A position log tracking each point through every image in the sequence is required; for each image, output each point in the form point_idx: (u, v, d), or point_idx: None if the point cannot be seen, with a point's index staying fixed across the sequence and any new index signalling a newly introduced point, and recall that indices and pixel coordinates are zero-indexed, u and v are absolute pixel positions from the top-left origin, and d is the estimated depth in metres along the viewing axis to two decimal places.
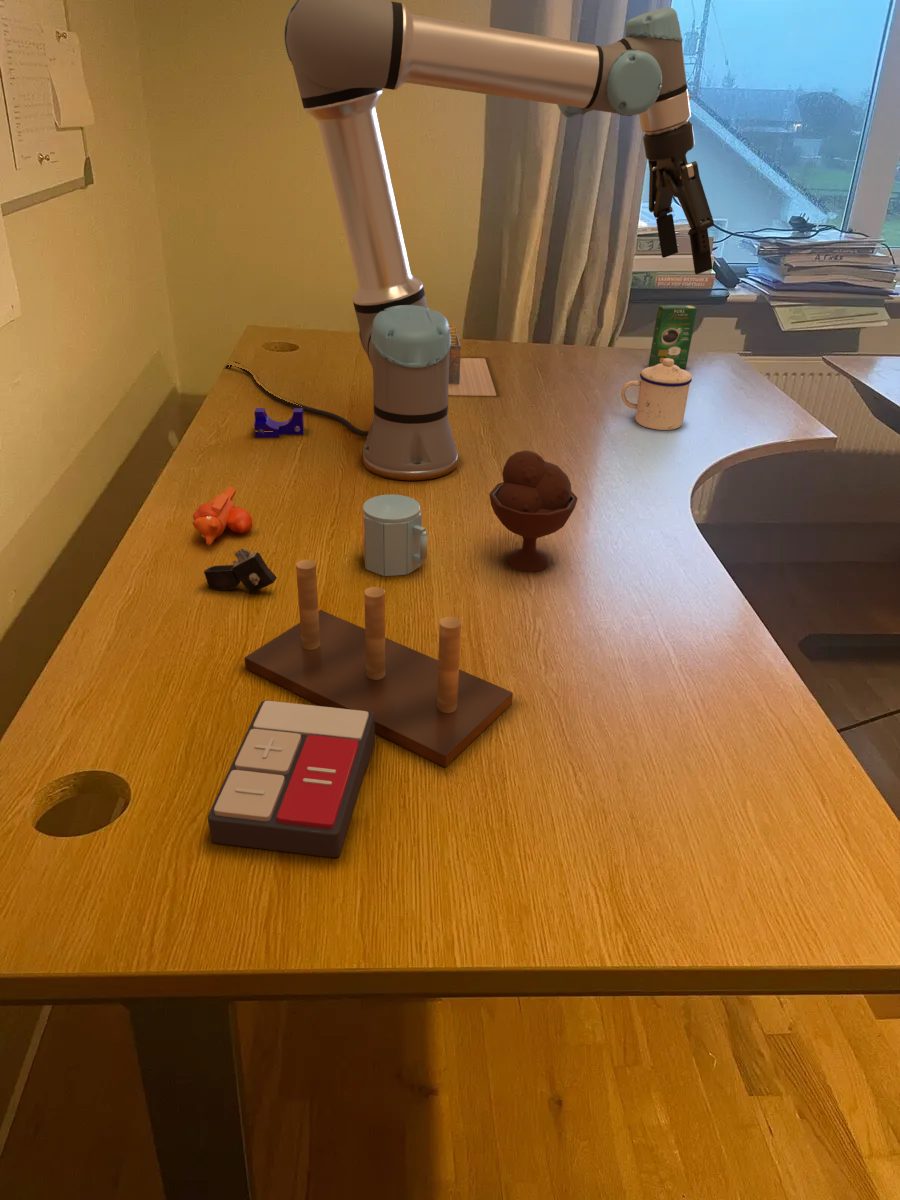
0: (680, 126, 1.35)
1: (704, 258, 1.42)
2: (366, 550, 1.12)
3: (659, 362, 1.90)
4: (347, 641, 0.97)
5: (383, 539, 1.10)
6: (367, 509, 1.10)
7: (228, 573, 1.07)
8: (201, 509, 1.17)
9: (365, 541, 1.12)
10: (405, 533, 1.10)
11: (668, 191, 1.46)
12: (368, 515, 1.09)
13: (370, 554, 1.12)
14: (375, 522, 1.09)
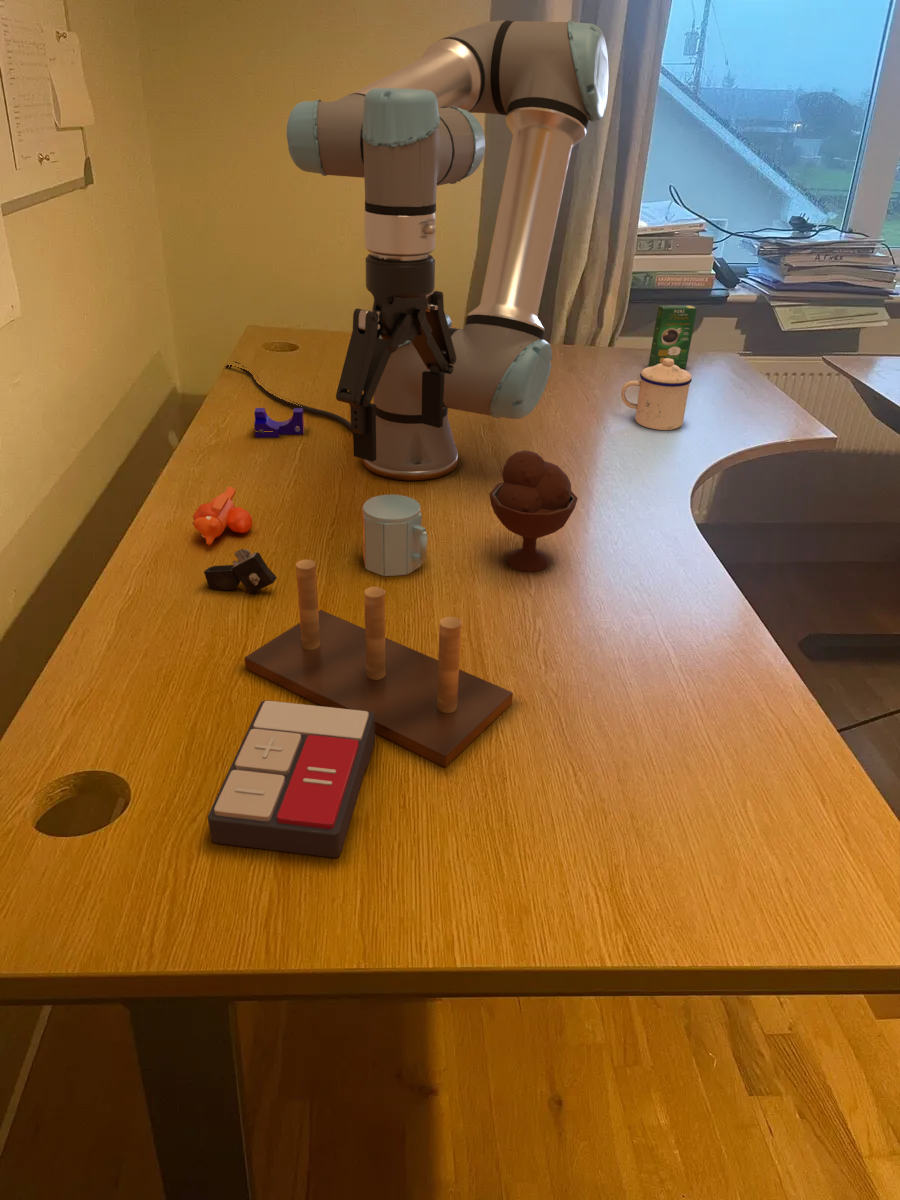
0: (391, 259, 0.93)
1: (364, 443, 1.00)
2: (366, 550, 1.12)
3: (659, 362, 1.90)
4: (347, 641, 0.97)
5: (383, 539, 1.10)
6: (367, 509, 1.10)
7: (228, 573, 1.07)
8: (201, 509, 1.17)
9: (365, 541, 1.12)
10: (405, 533, 1.10)
11: (420, 342, 1.03)
12: (368, 515, 1.09)
13: (370, 554, 1.12)
14: (375, 522, 1.09)
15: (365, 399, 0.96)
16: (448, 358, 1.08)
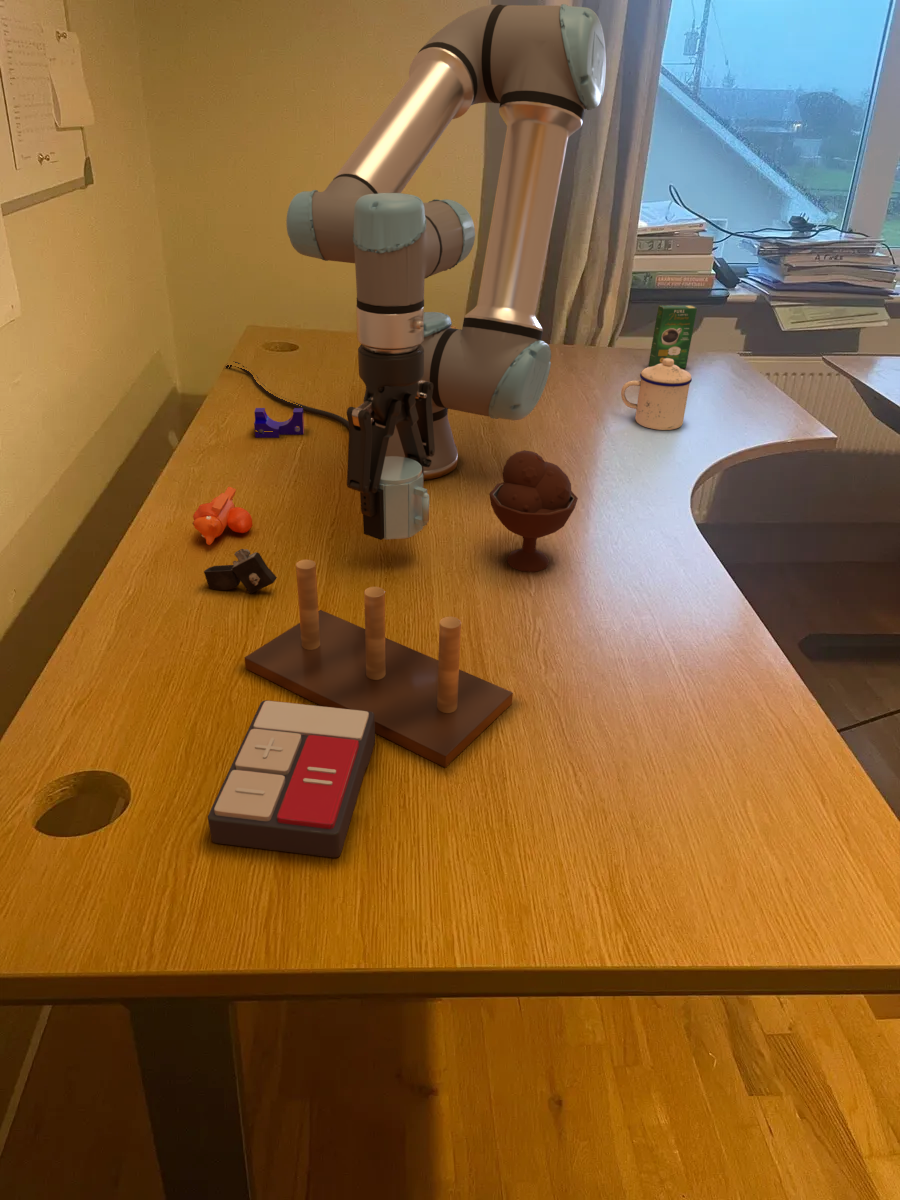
0: (381, 352, 0.98)
1: (373, 523, 1.09)
2: None
3: (659, 362, 1.90)
4: (347, 641, 0.97)
5: (384, 501, 1.07)
6: None
7: (228, 573, 1.07)
8: (201, 509, 1.17)
9: None
10: (406, 495, 1.07)
11: (405, 428, 1.08)
12: None
13: None
14: None
15: (373, 488, 1.05)
16: (426, 451, 1.12)
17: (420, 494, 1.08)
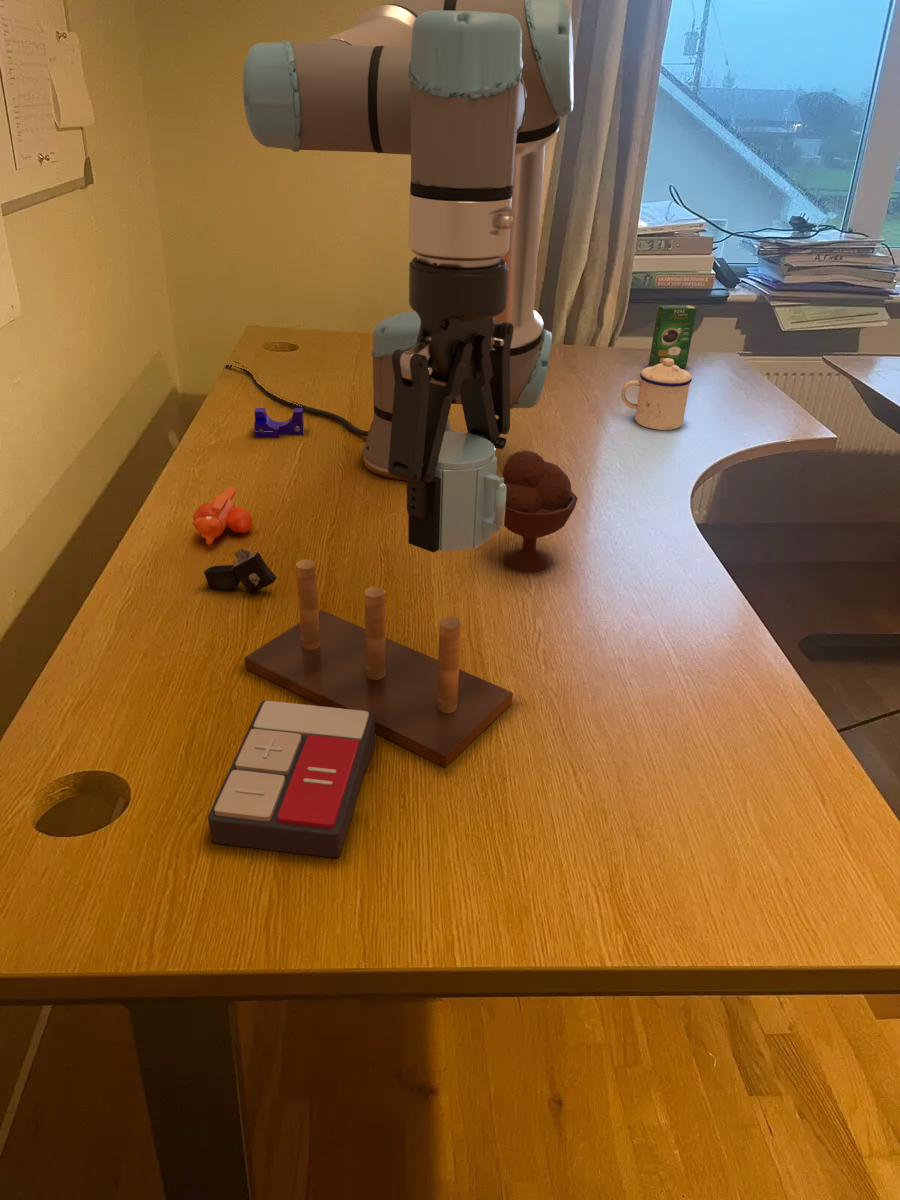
0: (447, 265, 0.64)
1: (423, 528, 0.74)
2: None
3: (659, 362, 1.90)
4: (347, 641, 0.97)
5: (441, 494, 0.73)
6: None
7: (228, 573, 1.07)
8: (201, 509, 1.17)
9: None
10: (474, 485, 0.73)
11: (472, 390, 0.74)
12: None
13: None
14: None
15: (427, 475, 0.71)
16: (499, 426, 0.78)
17: (494, 485, 0.73)
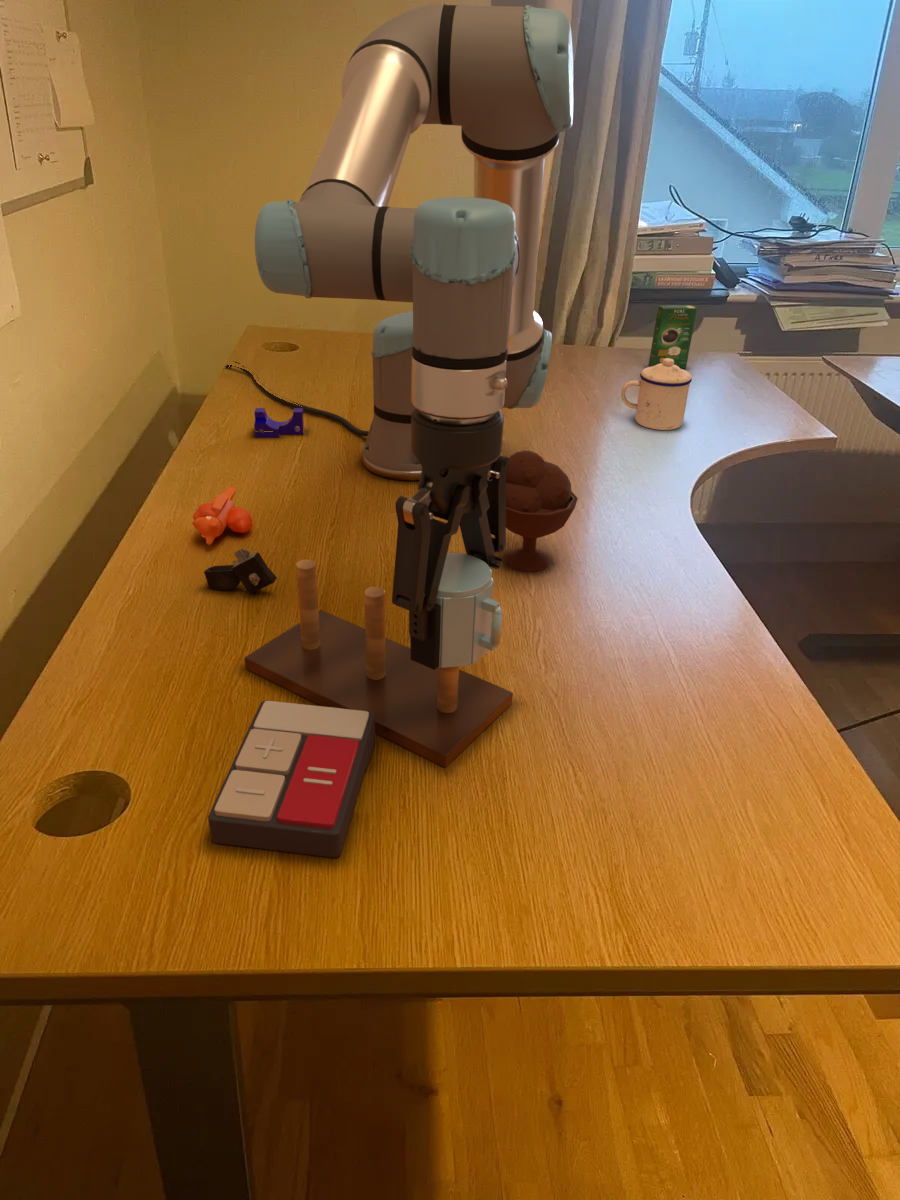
0: (446, 422, 0.69)
1: (425, 647, 0.80)
2: None
3: (659, 362, 1.90)
4: (347, 641, 0.97)
5: (441, 619, 0.78)
6: None
7: (228, 573, 1.07)
8: (201, 509, 1.17)
9: None
10: (472, 610, 0.78)
11: (470, 519, 0.79)
12: None
13: None
14: None
15: (428, 604, 0.76)
16: (495, 547, 0.83)
17: (490, 609, 0.78)
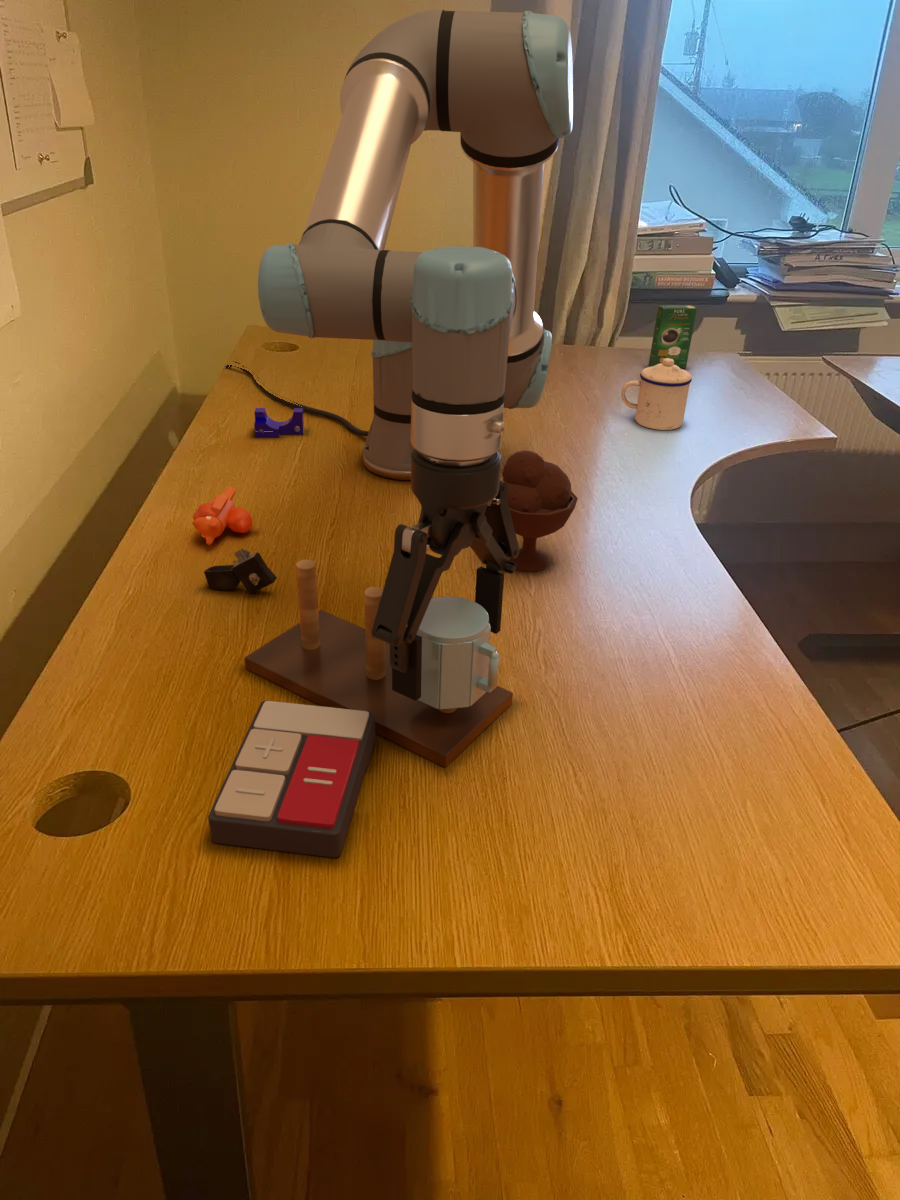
0: (445, 463, 0.71)
1: (406, 679, 0.79)
2: None
3: (659, 362, 1.90)
4: (347, 641, 0.97)
5: (440, 663, 0.81)
6: None
7: (228, 573, 1.07)
8: (201, 509, 1.17)
9: None
10: (470, 655, 0.81)
11: (476, 542, 0.82)
12: (419, 631, 0.80)
13: None
14: (429, 641, 0.80)
15: (409, 635, 0.75)
16: (509, 552, 0.86)
17: (487, 654, 0.81)
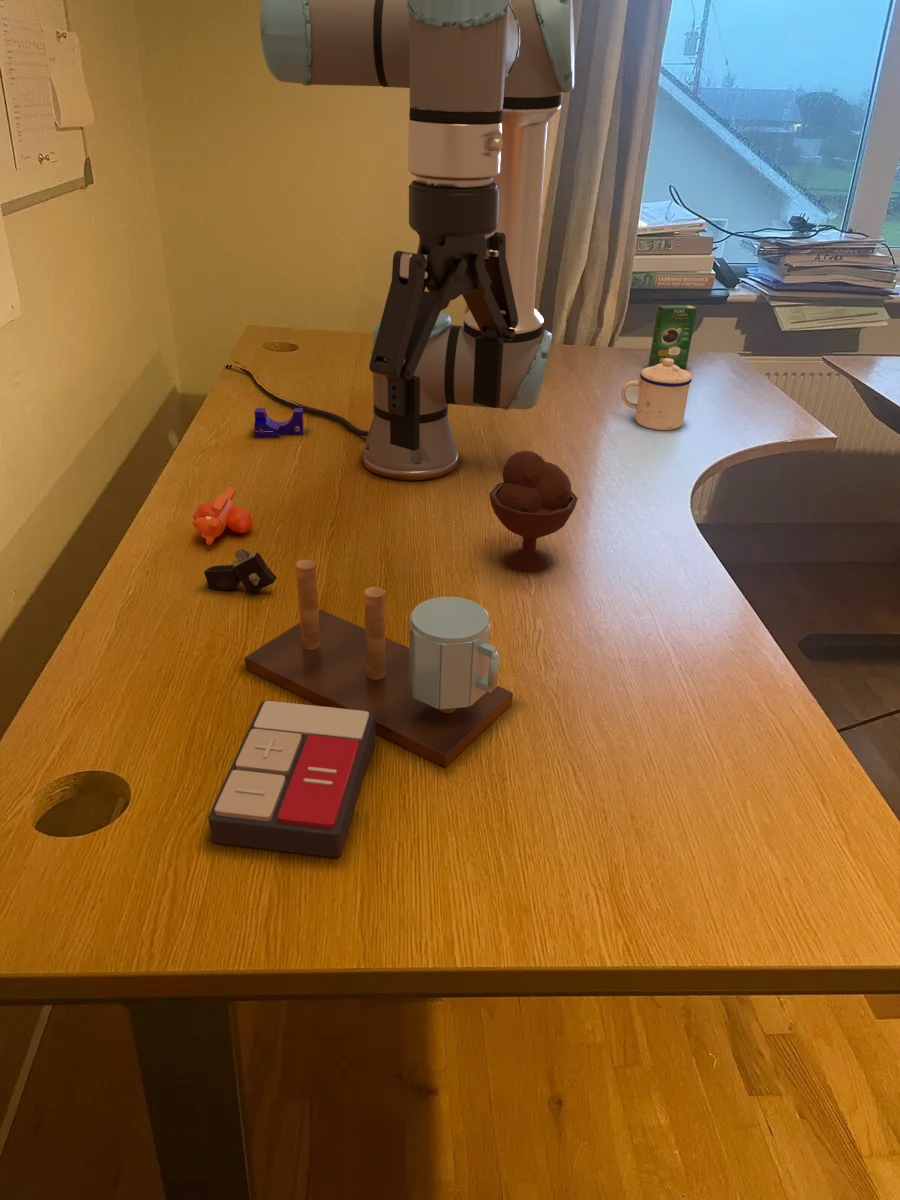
0: (443, 185, 0.71)
1: (404, 427, 0.78)
2: (415, 674, 0.83)
3: (659, 362, 1.90)
4: (347, 641, 0.97)
5: (440, 663, 0.81)
6: (417, 621, 0.81)
7: (228, 573, 1.07)
8: (201, 509, 1.17)
9: (414, 663, 0.83)
10: (470, 655, 0.81)
11: (475, 298, 0.81)
12: (419, 631, 0.80)
13: (420, 680, 0.83)
14: (429, 641, 0.80)
15: (407, 370, 0.74)
16: (508, 320, 0.86)
17: (487, 654, 0.81)
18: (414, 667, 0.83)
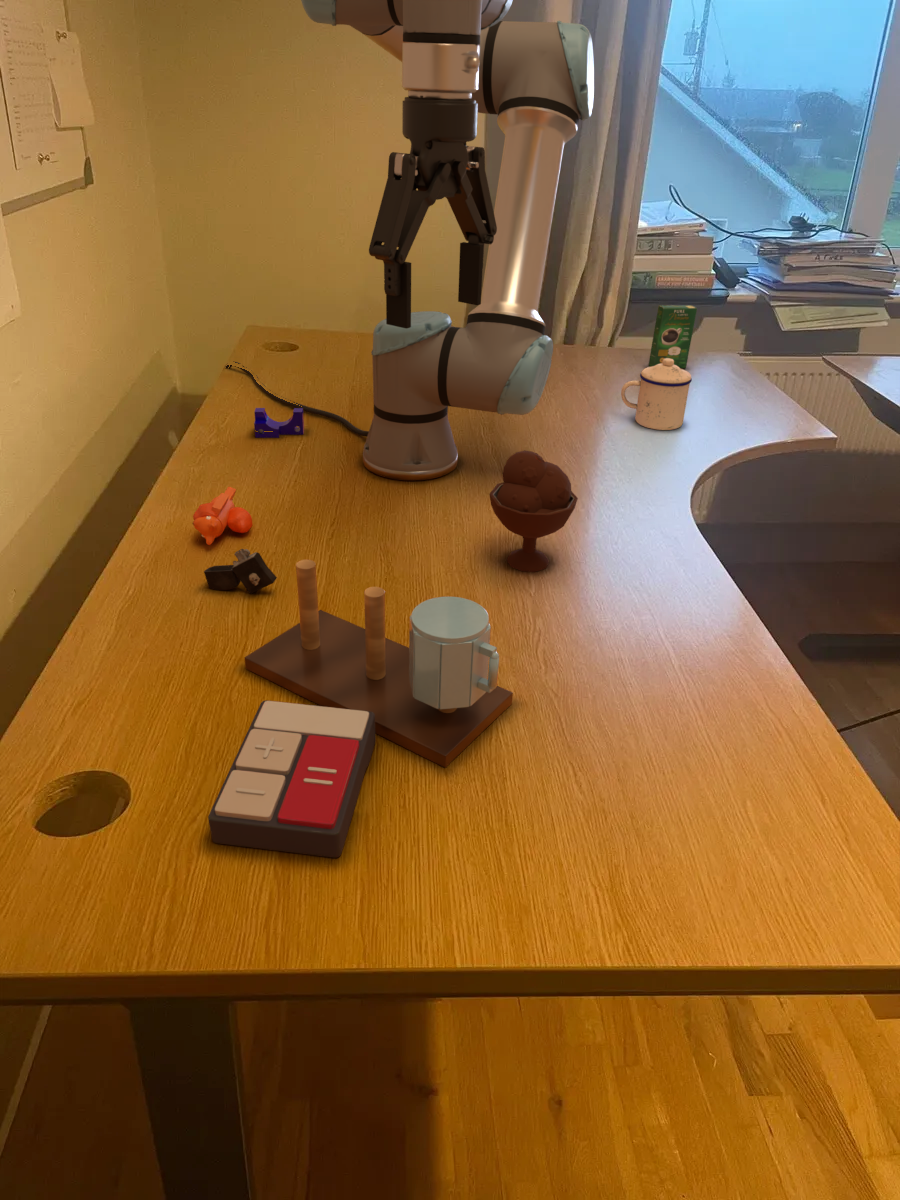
0: (430, 96, 0.86)
1: (398, 307, 0.93)
2: (415, 674, 0.83)
3: (659, 362, 1.90)
4: (347, 641, 0.97)
5: (440, 663, 0.81)
6: (417, 621, 0.81)
7: (228, 573, 1.07)
8: (201, 509, 1.17)
9: (414, 663, 0.83)
10: (470, 655, 0.81)
11: (459, 203, 0.96)
12: (419, 631, 0.80)
13: (420, 680, 0.83)
14: (429, 641, 0.80)
15: (400, 254, 0.89)
16: (488, 227, 1.01)
17: (487, 654, 0.81)
18: (414, 667, 0.83)
